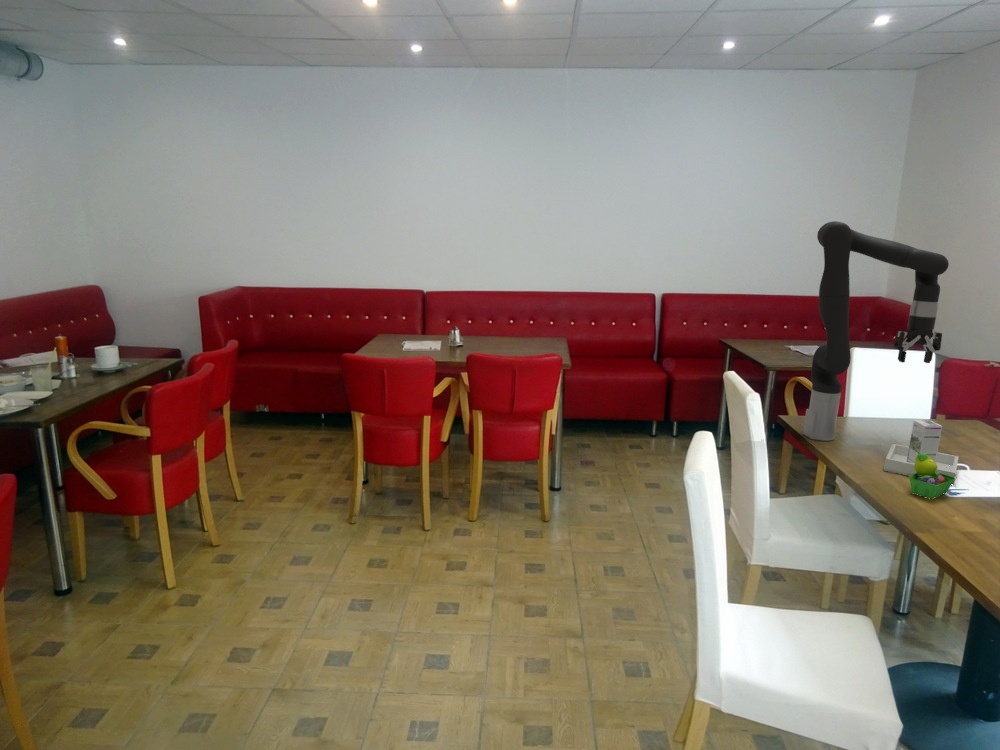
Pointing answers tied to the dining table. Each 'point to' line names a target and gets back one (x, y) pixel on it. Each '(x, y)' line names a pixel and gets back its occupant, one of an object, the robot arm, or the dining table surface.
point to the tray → (899, 464)
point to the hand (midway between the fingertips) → (914, 362)
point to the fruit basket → (928, 478)
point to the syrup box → (924, 439)
